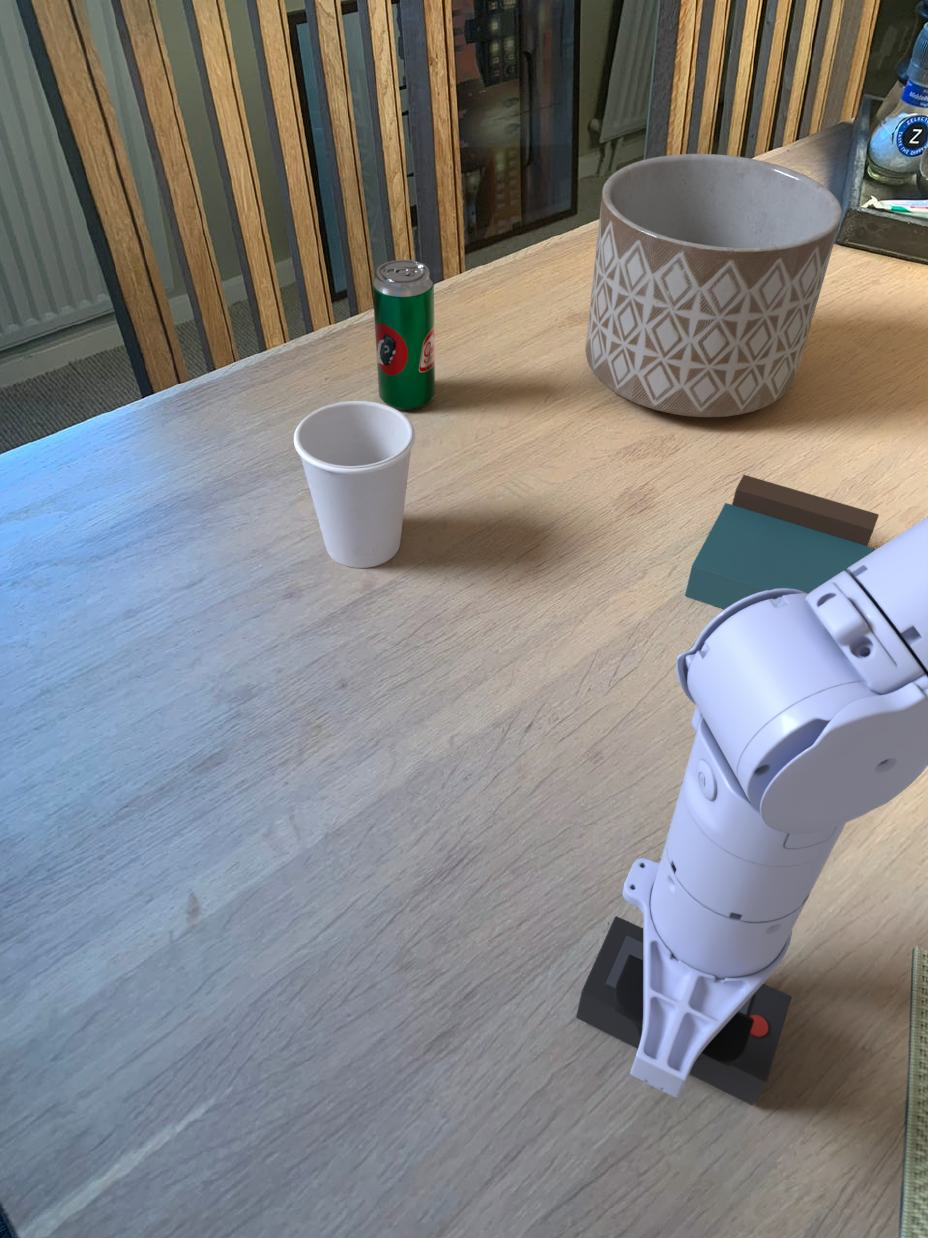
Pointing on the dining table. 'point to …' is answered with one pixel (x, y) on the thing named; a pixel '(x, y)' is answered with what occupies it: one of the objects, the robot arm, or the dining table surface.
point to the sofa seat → (777, 543)
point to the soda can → (404, 334)
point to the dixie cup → (357, 477)
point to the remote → (734, 1080)
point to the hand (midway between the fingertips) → (682, 1005)
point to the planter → (707, 281)
